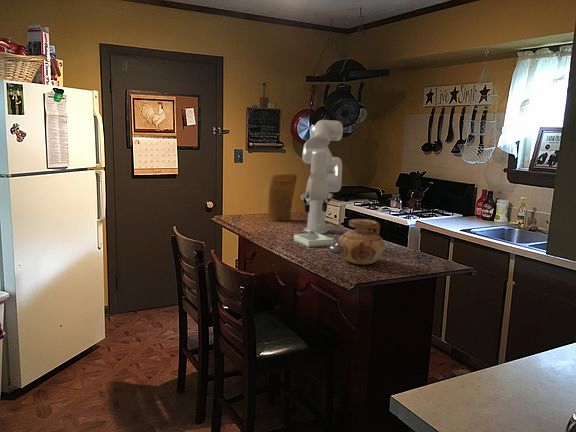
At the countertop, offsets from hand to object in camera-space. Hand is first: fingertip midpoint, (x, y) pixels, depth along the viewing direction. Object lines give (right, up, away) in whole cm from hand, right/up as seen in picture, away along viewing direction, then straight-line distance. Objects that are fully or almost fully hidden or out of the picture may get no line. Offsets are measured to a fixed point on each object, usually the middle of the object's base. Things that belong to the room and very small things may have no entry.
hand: (315, 211), depth 233 cm
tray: (-1, -15, +2) cm, 15 cm away
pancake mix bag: (-18, -5, +55) cm, 58 cm away
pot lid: (+9, -18, -13) cm, 24 cm away
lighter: (-1, -14, +2) cm, 15 cm away
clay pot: (+17, -22, -29) cm, 40 cm away
